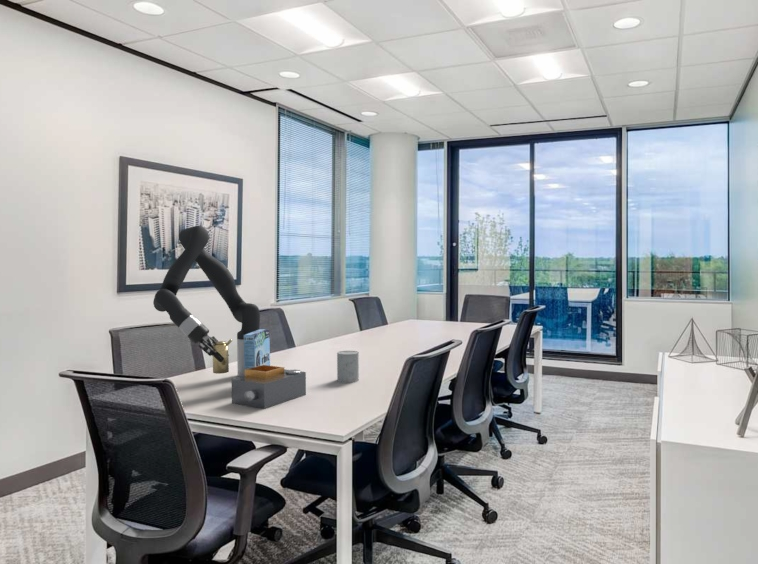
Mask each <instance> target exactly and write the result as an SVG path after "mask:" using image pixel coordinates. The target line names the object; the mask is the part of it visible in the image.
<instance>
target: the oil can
mask: <svg viewBox="0 0 758 564" xmlns="http://www.w3.org/2000/svg"><path fill="white" fill-rule="evenodd" d="M232 342H233V339H232V338H231V339H229V340H228V341H227V342H226V340H225V341H223V340H220V341H219V340H218V342H214V346H215V349H216V350H217V352H219V353H220V354H221V355H222V356H223V357H224V360H223V361H222V362H219V361H218V360H217V359H216V358H215V357H214V356H212V373H213V374H227V373H229V371H230V365H229V362H230V361H229V356H228V354H229V345H230V344H231V343H232Z"/></svg>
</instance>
